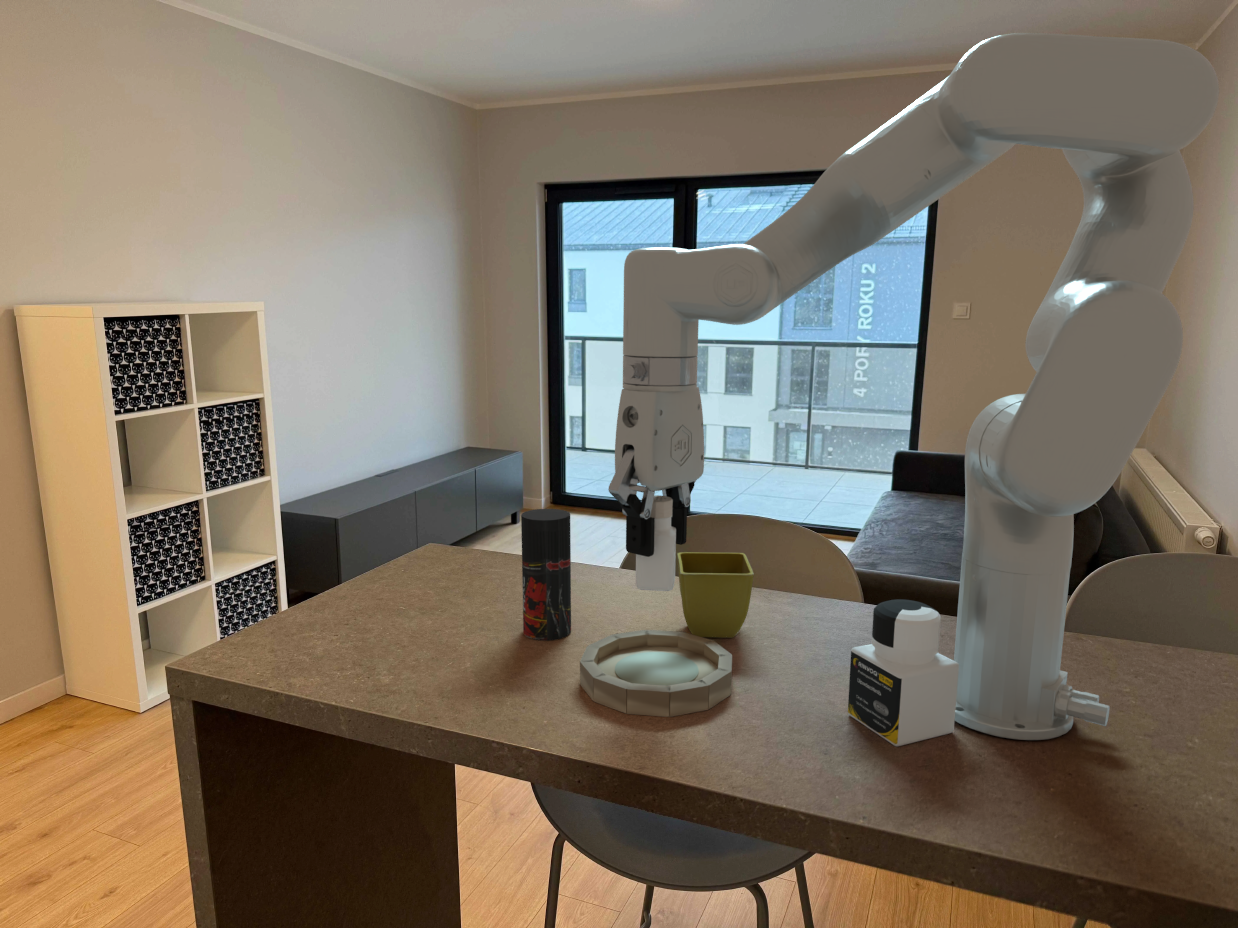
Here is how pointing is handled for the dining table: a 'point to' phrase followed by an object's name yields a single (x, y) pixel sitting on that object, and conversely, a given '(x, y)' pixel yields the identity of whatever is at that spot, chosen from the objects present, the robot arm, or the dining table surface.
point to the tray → (656, 672)
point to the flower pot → (715, 592)
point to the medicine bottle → (903, 676)
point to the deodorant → (546, 574)
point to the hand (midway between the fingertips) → (656, 546)
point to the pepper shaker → (659, 550)
